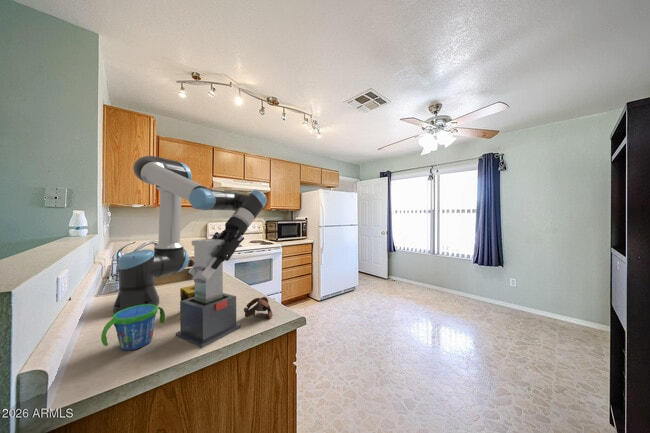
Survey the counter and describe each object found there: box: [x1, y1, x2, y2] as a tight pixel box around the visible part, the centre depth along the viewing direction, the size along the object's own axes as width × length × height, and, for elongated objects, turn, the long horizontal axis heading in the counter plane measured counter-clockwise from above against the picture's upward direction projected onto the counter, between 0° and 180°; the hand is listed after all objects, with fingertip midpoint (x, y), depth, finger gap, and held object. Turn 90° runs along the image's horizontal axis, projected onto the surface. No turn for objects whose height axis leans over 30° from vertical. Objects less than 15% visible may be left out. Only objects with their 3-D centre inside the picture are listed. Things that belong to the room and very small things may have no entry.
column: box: [191, 238, 225, 306], centre depth 77 cm, size 7×7×24 cm
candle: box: [179, 284, 195, 301], centre depth 93 cm, size 10×10×10 cm
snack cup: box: [100, 304, 166, 351], centre depth 70 cm, size 16×10×10 cm
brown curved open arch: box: [243, 296, 273, 320], centre depth 89 cm, size 12×10×8 cm
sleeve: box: [175, 292, 242, 349], centre depth 77 cm, size 14×14×11 cm
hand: (198, 275), depth 74 cm, fingers closed on column, 6 cm apart
